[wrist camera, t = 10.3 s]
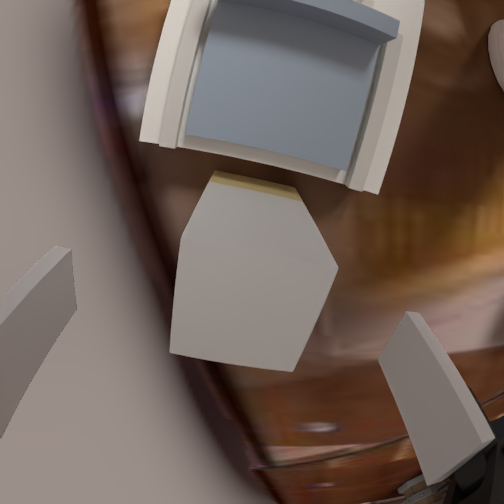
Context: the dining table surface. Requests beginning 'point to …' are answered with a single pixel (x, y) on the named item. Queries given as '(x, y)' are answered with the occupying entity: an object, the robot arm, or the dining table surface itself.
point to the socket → (355, 177)
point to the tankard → (421, 491)
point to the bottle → (497, 50)
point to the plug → (249, 275)
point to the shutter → (289, 75)
